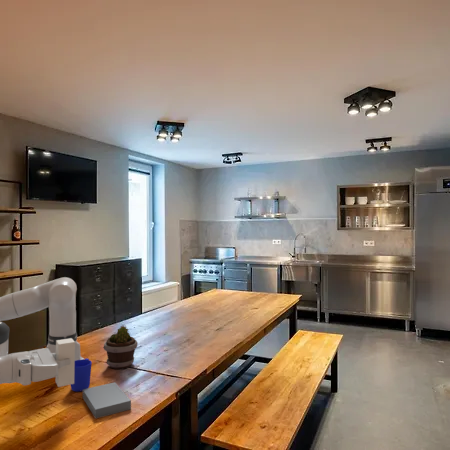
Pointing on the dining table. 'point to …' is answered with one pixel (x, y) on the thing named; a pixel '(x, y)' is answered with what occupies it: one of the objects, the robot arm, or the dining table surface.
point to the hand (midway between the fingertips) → (68, 358)
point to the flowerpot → (120, 349)
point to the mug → (81, 375)
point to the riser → (106, 400)
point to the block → (63, 351)
